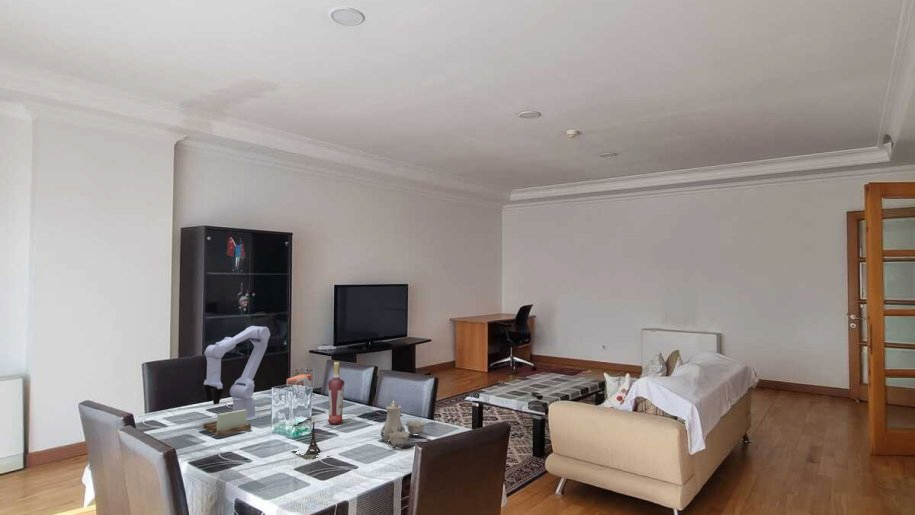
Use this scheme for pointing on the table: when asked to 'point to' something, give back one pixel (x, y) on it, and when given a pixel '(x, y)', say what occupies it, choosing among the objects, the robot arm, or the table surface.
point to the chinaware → (398, 427)
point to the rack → (213, 429)
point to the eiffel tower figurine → (311, 448)
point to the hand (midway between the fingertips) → (212, 402)
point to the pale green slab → (231, 419)
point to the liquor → (335, 396)
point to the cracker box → (300, 380)
